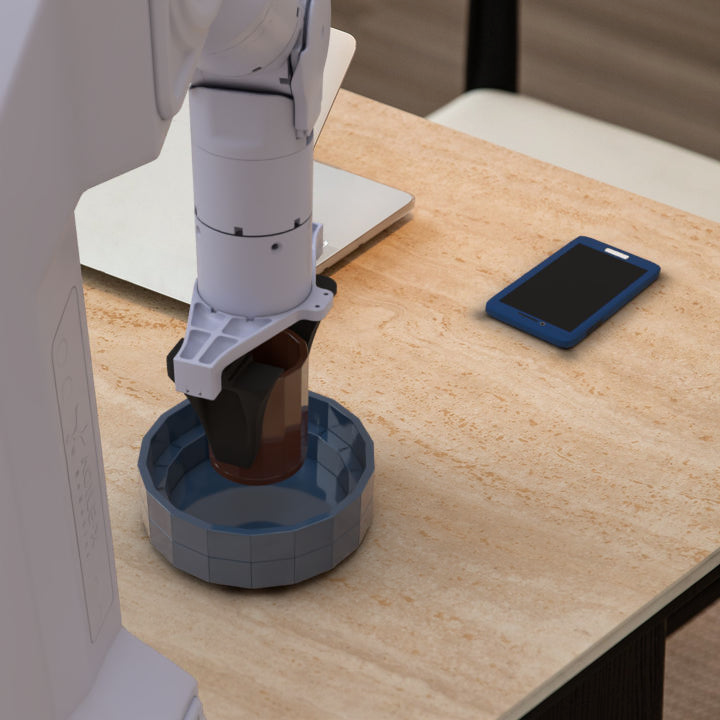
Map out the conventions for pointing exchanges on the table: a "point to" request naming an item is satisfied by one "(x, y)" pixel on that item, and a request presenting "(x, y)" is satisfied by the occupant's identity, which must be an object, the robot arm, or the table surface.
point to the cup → (278, 415)
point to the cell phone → (572, 291)
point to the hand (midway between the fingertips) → (257, 427)
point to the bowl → (257, 501)
